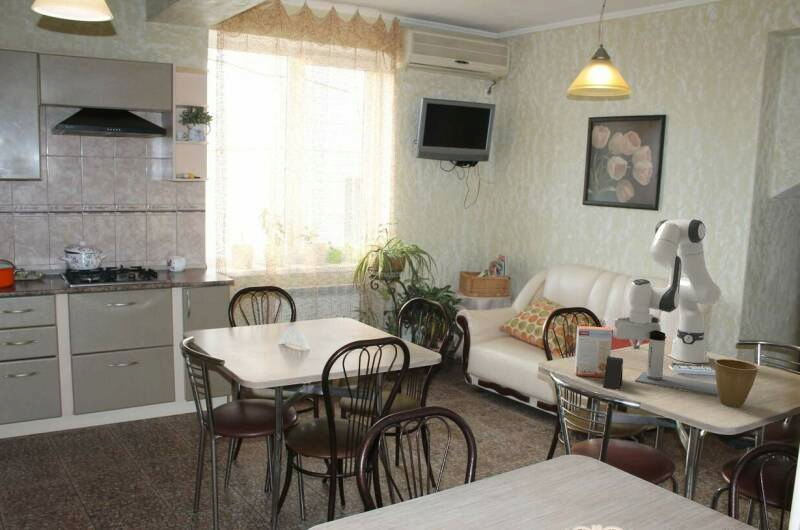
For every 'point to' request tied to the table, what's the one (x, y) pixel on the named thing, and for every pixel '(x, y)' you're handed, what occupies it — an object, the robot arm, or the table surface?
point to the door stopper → (613, 373)
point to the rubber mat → (681, 384)
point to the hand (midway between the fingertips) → (635, 349)
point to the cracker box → (592, 350)
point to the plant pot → (734, 381)
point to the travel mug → (656, 355)
